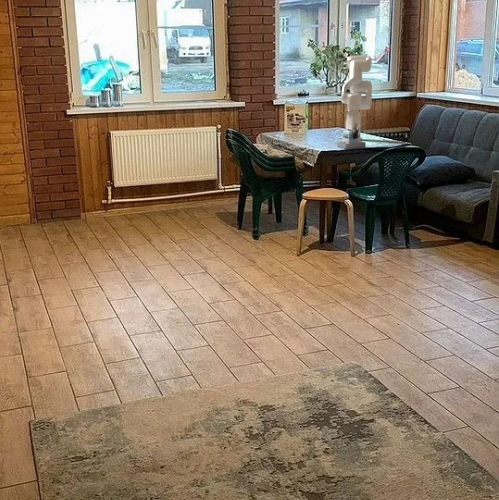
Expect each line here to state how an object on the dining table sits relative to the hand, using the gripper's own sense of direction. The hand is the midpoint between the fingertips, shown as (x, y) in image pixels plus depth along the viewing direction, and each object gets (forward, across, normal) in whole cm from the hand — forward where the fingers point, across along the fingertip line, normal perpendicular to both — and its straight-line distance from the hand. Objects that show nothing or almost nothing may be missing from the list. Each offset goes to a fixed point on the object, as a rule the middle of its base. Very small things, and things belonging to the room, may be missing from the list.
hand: (351, 137), depth 493 cm
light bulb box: (+6, 0, 0) cm, 6 cm away
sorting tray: (+6, 0, 0) cm, 7 cm away
